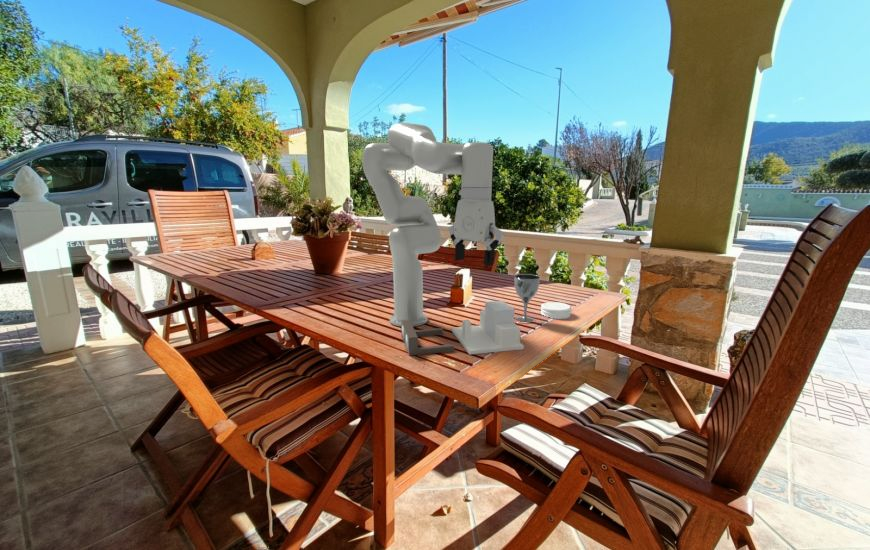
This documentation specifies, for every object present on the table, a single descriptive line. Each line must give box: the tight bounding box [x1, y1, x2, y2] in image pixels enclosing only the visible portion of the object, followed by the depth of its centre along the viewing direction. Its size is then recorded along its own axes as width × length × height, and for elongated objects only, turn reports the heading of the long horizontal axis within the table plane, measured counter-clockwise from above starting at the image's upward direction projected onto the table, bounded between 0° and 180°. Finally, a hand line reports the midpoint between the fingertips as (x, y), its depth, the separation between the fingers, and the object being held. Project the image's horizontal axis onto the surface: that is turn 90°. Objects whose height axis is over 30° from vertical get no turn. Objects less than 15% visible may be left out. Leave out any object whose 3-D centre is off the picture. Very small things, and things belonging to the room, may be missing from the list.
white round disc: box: [540, 301, 572, 320], centre depth 133 cm, size 10×10×4 cm
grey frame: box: [400, 320, 455, 357], centre depth 108 cm, size 12×14×5 cm
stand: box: [451, 300, 525, 356], centre depth 111 cm, size 16×18×10 cm
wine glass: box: [514, 273, 541, 322], centre depth 126 cm, size 8×8×15 cm
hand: (473, 262), depth 99 cm, fingers open, 9 cm apart
